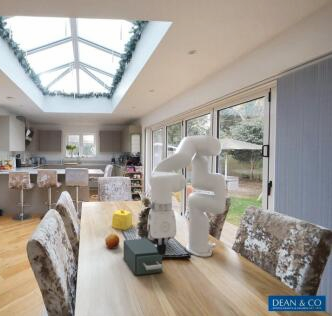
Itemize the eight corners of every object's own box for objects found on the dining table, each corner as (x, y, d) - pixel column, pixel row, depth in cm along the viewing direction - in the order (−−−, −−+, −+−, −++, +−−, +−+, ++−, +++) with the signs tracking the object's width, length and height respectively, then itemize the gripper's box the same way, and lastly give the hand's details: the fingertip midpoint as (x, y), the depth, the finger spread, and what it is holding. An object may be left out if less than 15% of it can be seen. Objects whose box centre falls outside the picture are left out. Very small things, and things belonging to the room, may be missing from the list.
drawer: (167, 277, 85) (167, 260, 85) (141, 280, 83) (142, 262, 82) (147, 256, 102) (148, 242, 102) (126, 258, 100) (126, 243, 100)
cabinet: (161, 272, 90) (162, 251, 90) (134, 275, 88) (135, 254, 88) (146, 256, 105) (147, 238, 105) (123, 258, 102) (123, 240, 102)
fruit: (122, 248, 110) (114, 234, 111) (109, 254, 112) (102, 241, 112) (123, 241, 118) (116, 229, 119) (111, 247, 119) (104, 235, 120)
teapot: (124, 232, 136) (124, 214, 136) (107, 229, 142) (108, 212, 142) (134, 223, 153) (134, 208, 153) (119, 221, 160) (119, 206, 159)
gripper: (147, 210, 74) (147, 260, 75) (184, 207, 77) (184, 256, 78) (139, 205, 81) (139, 250, 82) (173, 202, 84) (173, 247, 85)
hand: (161, 253), depth 80 cm, fingers closed
